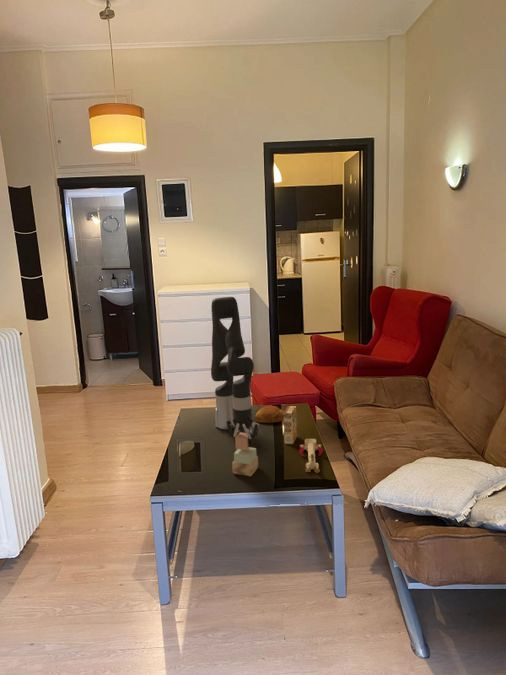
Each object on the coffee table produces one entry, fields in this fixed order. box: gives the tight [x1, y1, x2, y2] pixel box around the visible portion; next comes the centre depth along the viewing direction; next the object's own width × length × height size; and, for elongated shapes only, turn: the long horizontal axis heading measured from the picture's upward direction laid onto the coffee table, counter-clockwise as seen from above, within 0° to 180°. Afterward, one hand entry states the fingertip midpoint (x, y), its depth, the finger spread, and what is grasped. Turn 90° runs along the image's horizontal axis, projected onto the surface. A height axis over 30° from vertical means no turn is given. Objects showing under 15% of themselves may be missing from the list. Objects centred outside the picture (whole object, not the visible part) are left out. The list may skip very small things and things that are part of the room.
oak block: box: [231, 456, 259, 477], centre depth 202 cm, size 8×8×5 cm
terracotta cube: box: [234, 431, 250, 450], centre depth 200 cm, size 5×5×5 cm
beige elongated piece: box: [299, 438, 324, 474], centre depth 209 cm, size 10×9×25 cm
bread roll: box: [254, 405, 285, 424], centre depth 255 cm, size 14×16×8 cm
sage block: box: [233, 446, 258, 465], centre depth 201 cm, size 7×7×4 cm
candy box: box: [283, 405, 298, 445], centre depth 227 cm, size 9×4×15 cm, turn 162°
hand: (243, 445), depth 200 cm, fingers closed on terracotta cube, 5 cm apart
